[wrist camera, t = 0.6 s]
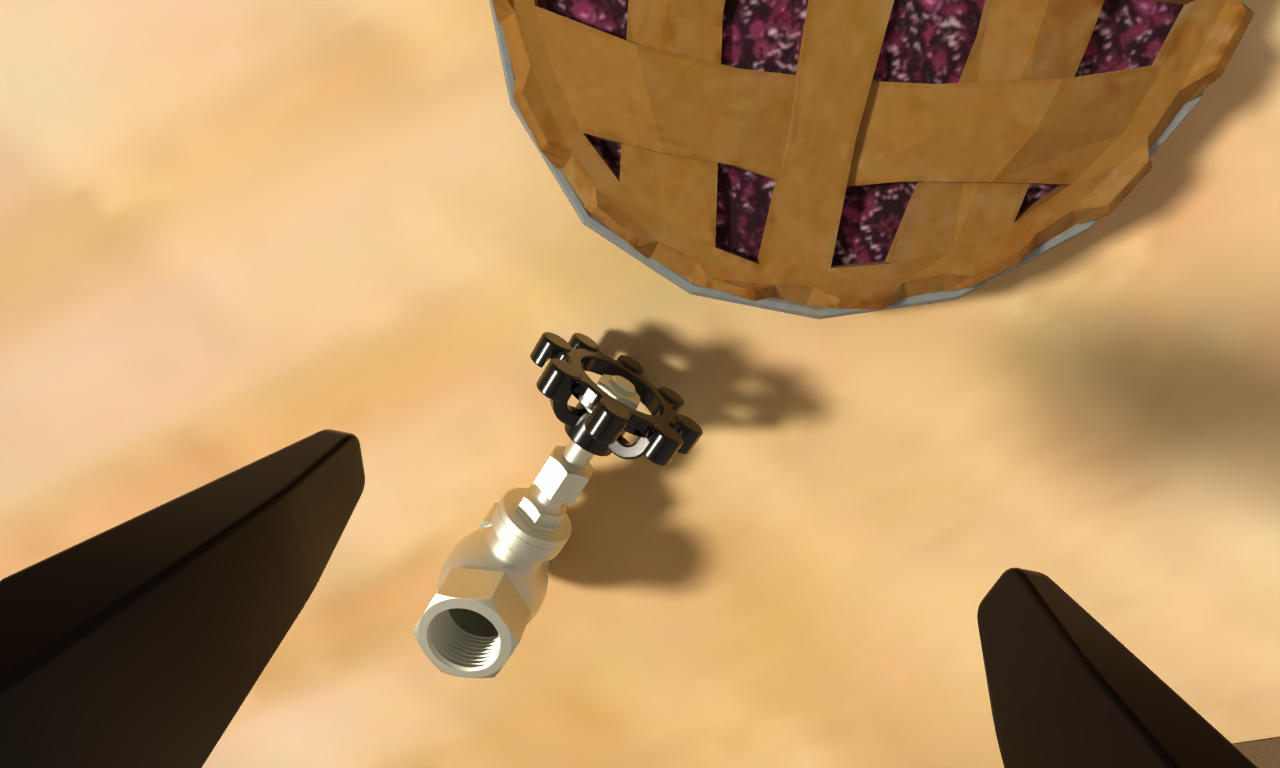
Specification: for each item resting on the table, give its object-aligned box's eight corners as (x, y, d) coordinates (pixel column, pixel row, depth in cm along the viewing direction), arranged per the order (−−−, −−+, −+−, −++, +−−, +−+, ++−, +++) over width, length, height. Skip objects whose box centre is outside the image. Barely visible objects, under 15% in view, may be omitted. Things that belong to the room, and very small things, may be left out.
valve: (557, 604, 28) (702, 401, 24) (518, 723, 21) (706, 472, 18) (433, 532, 27) (563, 314, 24) (355, 633, 21) (517, 355, 17)
